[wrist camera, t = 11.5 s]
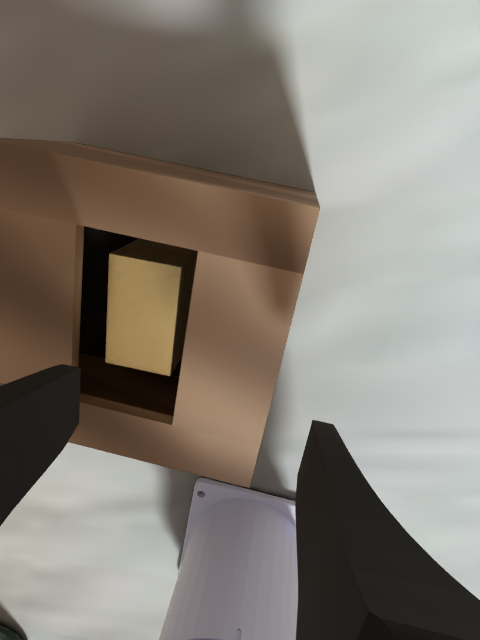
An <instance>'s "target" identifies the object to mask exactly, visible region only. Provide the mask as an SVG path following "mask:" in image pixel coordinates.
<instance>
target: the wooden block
mask: <svg viewBox="0 0 480 640" xmlns="http://www.w3.org/2000/svg"><path fill="white" fill-rule="evenodd" d="M197 255H198V251H196V250H191V249H187V248H182V247H177V246H173V245H168V244H164V243H159V242H155V241H150V240H145V239H141V238H140V239H138V240H136V241H134V242H132V243H130V244H128V245H126V246H124V247H122V248H120V249H118V250H116V251H114V252H112V253H110V254H109V273H108V302H107V330H106V358H105V362H106V363H110V364H115V365H120V366H125V367H129V368H134V369H139V370H143V371H148V372H153V373H158V374H162V375H167V376H170V375H171V374H172V372H173V371H174V369H175V367H176V366H177V364H178V363H179V361H180V359H181V358H182V356H183V349H184V343H185V336H186V329H187V322H188V316H189V309H190V302H191V296H192V289H193V282H194V275H195V269H196V262H197Z"/></svg>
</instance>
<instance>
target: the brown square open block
mask: <svg viewBox="0 0 480 640" xmlns="http://www.w3.org/2000/svg"><path fill="white" fill-rule="evenodd" d="M319 210H320V206H319V203H318V199H317V196H316V192H311V191H306V190H301V189H296V188H291V187H287V186H282V185H277V184H272V183H267V182H262V181H257V180H253V179H248V178H243V177H238V176H233V175H228V174H223V173H218V172H214V171H209V170H204V169H199V168H194V167H189V166H184V165H180V164H175V163H170V162H165V161H160V160H155V159H150V158H146V157H141V156H136V155H131V154H126V153H121V152H116V151H112V150H107V149H102V148H97V147H92V146H87V145H82V144H77V143H73V142H59V141H42V140H26V139H10V138H0V386H1V385H4V384H7V383H9V382H12V381H15V380H17V379H20V378H23V377H25V376H28V375H31V374H33V373H36V372H39V371H41V370H44V369H47V368H50V367H53V366H56V365H60V364H65V365H69V366H74V367H78V368H81V369H80V412H79V424H78V426H77V428H76V429H75V431H74V433H73V434H72V436H71V438H70V439H69V441H68V442H70V443H74V444H78V445H82V446H86V447H90V448H93V449H97V450H101V451H105V452H109V453H113V454H117V455H121V456H125V457H129V458H133V459H137V460H141V461H145V462H149V463H152V464H156V465H160V466H164V467H168V468H172V469H176V470H180V471H184V472H188V473H192V474H196V475H200V476H204V477H208V478H211V479H215V480H219V481H223V482H227V483H231V484H235V485H239V486H243V487H247V488H250V484H251V480H252V476H253V472H254V468H255V464H256V460H257V456H258V452H259V449H260V445H261V441H262V437H263V433H264V429H265V425H266V421H267V417H268V413H269V409H270V405H271V401H272V397H273V393H274V389H275V385H276V381H277V377H278V373H279V369H280V365H281V361H282V357H283V353H284V349H285V345H286V341H287V337H288V333H289V329H290V325H291V322H292V318H293V314H294V310H295V306H296V302H297V298H298V294H299V290H300V286H301V282H302V278H303V274H304V270H305V266H306V262H307V258H308V254H309V250H310V246H311V242H312V238H313V234H314V230H315V226H316V222H317V218H318V214H319ZM84 226H86V227H91V228H95V229H100V230H104V231H109V232H113V233H118V234H123V235H127V236H132V237H136V238H141V239H145V240H150V241H155V242H159V243H164V244H168V245H173V246H177V247H182V248H187V249H191V250H196V251H198V255H197V262H196V269H195V275H194V282H193V289H192V296H191V302H190V309H189V316H188V322H187V329H186V336H185V343H184V349H183V356H182V363H181V370H180V376H175V375H170V376H167V375H162V374H158V373H153V372H148V371H143V370H139V369H134V368H129V367H125V366H120V365H115V364H110V363H106V362H105V359H104V358H99V357H95V356H91V355H87V354H83V353H79V338H80V314H81V290H82V266H83V242H84Z"/></svg>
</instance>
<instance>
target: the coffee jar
mask: <svg viewBox="0 0 480 640" xmlns="http://www.w3.org/2000/svg"><path fill="white" fill-rule="evenodd" d="M0 640H20V638H19V636H18V635H17V634H16V633H14V632H13V631H11V630H9V629H7V628H5V627H3V626H0Z"/></svg>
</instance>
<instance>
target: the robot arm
mask: <svg viewBox="0 0 480 640" xmlns="http://www.w3.org/2000/svg"><path fill="white" fill-rule="evenodd" d="M80 369H81V368H78V367H74V366H69V365H65V364H60V365H56V366H53V367H50V368H47V369H44V370H41V371H39V372H36V373H33V374H31V375H28V376H25V377H23V378H20V379H17V380H15V381H12V382H9V383H7V384H4V385H1V386H0V526H1V524H2V523H3V522H4V520H5V519H6V518H7V517H8V515H9V514H10V513H11V511H12V510H13V509H14V508H15V507H16V505H17V504H18V503H19V502H20V501H21V499H22V498H23V497H24V496H25V495H26V493H27V492H28V491H29V490H30V489H31V487H32V486H33V485H34V484H35V483H36V482H37V480H38V479H39V478H40V477H41V476H42V474H43V473H44V472H45V471H46V470H47V468H48V467H49V466H50V465H51V464H52V462H53V461H54V460H55V459H56V457H57V456H58V455H59V454H60V453H61V451H62V450H63V448H64V447H65V445H66V444H67V442H68V441H69V439H70V438H71V436H72V434H73V433H74V431H75V429H76V428H77V426H78V424H79V412H80ZM199 491H202V492H204V493H201V492H199ZM159 640H480V600H479V599H478V598H476V597H475V596H474V595H473V594H471V593H470V592H469V591H468V590H467V589H466V588H465V587H463V586H462V585H461V584H460V583H459V582H458V581H457V580H455V579H454V578H453V577H452V576H451V575H450V574H449V573H448V572H446V571H445V570H444V569H443V568H442V567H441V566H440V565H439V564H438V563H437V562H436V561H435V560H434V559H433V558H432V557H431V556H430V555H429V554H428V553H427V552H426V551H425V550H424V549H423V548H422V547H421V546H420V545H419V544H418V543H417V542H416V541H415V540H414V539H413V538H412V537H411V536H410V535H409V534H408V533H407V532H406V530H405V529H404V528H403V527H402V526H401V525H400V523H399V522H398V521H397V520H396V519H395V518H394V516H393V515H392V514H391V513H390V512H389V510H388V509H387V508H386V507H385V505H384V504H383V503H382V502H381V500H380V499H379V497H378V496H377V495H376V493H375V492H374V491H373V489H372V488H371V486H370V485H369V483H368V482H367V480H366V479H365V477H364V476H363V474H362V473H361V471H360V469H359V468H358V466H357V465H356V463H355V461H354V460H353V458H352V456H351V455H350V453H349V451H348V449H347V448H346V446H345V444H344V442H343V440H342V439H341V437H340V435H339V433H338V431H337V430H336V428H335V426H334V425H333V424H329V423H325V422H320V421H316V420H313V421H312V424H311V428H310V432H309V435H308V439H307V443H306V446H305V450H304V453H303V457H302V461H301V464H300V468H299V472H298V478H297V489H296V501H292V500H288V499H284V498H280V497H276V496H272V495H269V494H265V493H261V492H257V491H253V490H249V489H245V488H241V487H237V486H233V485H229V484H225V483H221V482H217V481H214V480H210V479H206V478H199V479H198V480H197V481H196V483H195V486H194V492H193V497H192V502H191V508H190V513H189V518H188V524H187V529H186V535H185V540H184V545H183V551H182V556H181V562H180V567H179V572H178V578H177V582H176V585H175V588H174V592H173V595H172V598H171V602H170V605H169V608H168V611H167V615H166V618H165V621H164V625H163V628H162V631H161V635H160V638H159Z"/></svg>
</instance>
